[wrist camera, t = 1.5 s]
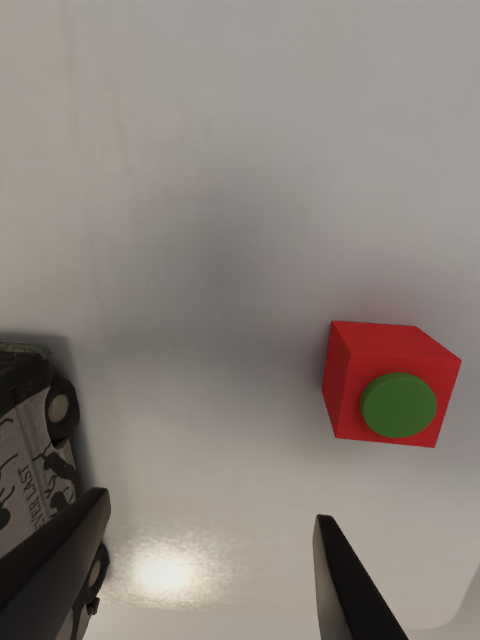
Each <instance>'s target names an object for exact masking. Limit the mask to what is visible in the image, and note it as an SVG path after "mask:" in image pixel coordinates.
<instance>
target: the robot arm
mask: <svg viewBox="0 0 480 640" xmlns="http://www.w3.org/2000/svg"><path fill="white" fill-rule="evenodd" d="M110 514H111V505H110V497H109V491H108V489H107V488H101V487H93V488H91V489H90V490H88V491H87V492H86V493H85V494H83V495H82V496H81V497H79V498H78V499H77V500H75V501H74V502H73V503H72V504H70V505H69V506H68V507H66V508H65V509H64V510H62V511H61V512H60V513H59V514H57V515H56V516H55V517H53V518H52V519H51V520H50V521H48V522H47V523H46V524H44V525H43V526H42V527H40V528H39V529H38V530H37V531H35V532H34V533H33V534H31V535H30V536H29V537H27V538H26V539H25V540H24V541H22V542H21V543H20V544H18V545H17V546H16V547H14V548H13V549H12V550H11V551H9V552H8V553H7V554H5V555H4V556H3V557H2V558H0V640H56V637H57V635H58V633H59V631H60V629H61V627H62V625H63V623H64V621H65V619H66V617H67V615H68V613H69V611H70V609H71V607H72V605H73V603H74V601H75V599H76V597H77V595H78V593H79V591H80V589H81V587H82V585H83V583H84V580H85V578H86V576H87V573H88V571H89V568H90V566H91V563H92V561H93V558H94V556H95V553H96V551H97V548H98V546H99V543H100V541H101V538H102V535H103V533H104V530H105V528H106V525H107V523H108V520H109V518H110ZM313 556H314V570H315V585H316V600H317V612H318V621H319V627H320V634H321V640H409V639H408V638H407V636H406V634H405V633H404V631H403V630H402V628H401V626H400V625H399V623H398V621H397V620H396V618H395V617H394V615H393V613H392V612H391V610H390V608H389V607H388V605H387V604H386V602H385V600H384V599H383V597H382V596H381V594H380V592H379V591H378V589H377V587H376V586H375V584H374V583H373V581H372V579H371V578H370V576H369V575H368V573H367V571H366V570H365V568H364V566H363V565H362V563H361V562H360V560H359V558H358V557H357V555H356V554H355V552H354V550H353V549H352V547H351V545H350V544H349V542H348V541H347V539H346V537H345V536H344V534H343V532H342V531H341V529H340V528H339V526H338V524H337V523H336V521H335V520H334V518H333V517H332V516H330V515H322V514H318V515H317V516H316V520H315V526H314V532H313Z"/></svg>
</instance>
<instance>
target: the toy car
mask: <svg viewBox="0 0 480 640" xmlns="http://www.w3.org/2000/svg"><path fill="white" fill-rule="evenodd" d="M51 354H52V352H51V349H49V348H48V347H47V346H42V345H35V344H21V343H8V342H0V558H2V557H3V556H4V555H5V554H7V553H8V552H9V551H11V550H12V549H13V548H14V547H16V546H17V545H18V544H20V543H21V542H22V541H24V540H25V539H26V538H27V537H29V536H30V535H31V534H33V533H34V532H35V531H37V530H38V529H39V528H40V527H42V526H43V525H44V524H46V523H47V522H48V521H50V520H51V519H52V518H53V517H55V516H56V515H57V514H59V513H60V512H61V511H62V510H64V509H65V508H66V507H68V506H69V505H70V504H72V503H73V502H74V501H75V500H77V499H78V498H79V497H81V493H80V487H79V481H78V476H77V472H76V468H75V464H74V460H73V455H72V451H71V447H70V443H69V439H66V438H62V437H64V436H65V435H66V434H68V433H69V432H70V431H71V430H72V429H73V428H74V427H75V425H76V424H77V422H78V420H79V418H80V414H79V405H78V401H77V398H76V393H75V388H74V387H73V385H72V383H71V382H70V380H66V379H62V378H54V374H53V371H52V368H51V365H50V363H49V360H48V358H47V357H49V356H50V355H51ZM108 565H109V557H108V554H107V551H106V549H105V547H104V546H103V545H101V544H99V546H98V548H97V551H96V553H95V556H94V558H93V561H92V563H91V566H90V568H89V571H88V573H87V576H86V578H85V580H84V583H83V585H82V587H81V589H80V591H79V593H78V595H77V597H76V599H75V601H74V603H73V605H72V607H71V609H70V611H69V613H68V615H67V617H66V619H65V621H64V623H63V625H62V627H61V629H60V631H59V633H58V635H57V637H56V640H82V639H83V637H84V634H85V632H86V629H87V627H88V622H89V619H90V618H91V616H92V615H95V614H96V613H97V608H98V605H99V601H100V599H99V598H97V597H96V596H97V594H98V592H99V590H100V588H101V586H102V583H103V581H104V578H105V575H106V571H107V567H108Z"/></svg>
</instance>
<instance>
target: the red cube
mask: <svg viewBox="0 0 480 640" xmlns="http://www.w3.org/2000/svg"><path fill="white" fill-rule="evenodd" d="M461 361H462V360H461V359H459V358H458V357H457V356H455V355H454V354H453V353H451V352H450V351H449V350H447V349H446V348H445V347H443V346H442V345H440V344H439V343H438V342H436V341H435V340H434V339H432V338H431V337H430V336H428V335H427V334H426V333H424V332H423V331H422V330H420V329H419V328H417V327H416V326H402V325H387V324H373V323H359V322H344V321H332V323H331V330H330V337H329V344H328V350H327V357H326V364H325V370H324V377H323V384H322V394H323V397H324V401H325V404H326V408H327V411H328V414H329V418H330V421H331V425H332V428H333V432H334V435H335V438H342V439H352V440H362V441H372V442H382V443H391V444H401V445H411V446H421V447H431V448H434V447H435V444H436V441H437V438H438V435H439V432H440V429H441V425H442V422H443V419H444V416H445V413H446V409H447V406H448V403H449V400H450V397H451V393H452V390H453V387H454V384H455V381H456V377H457V374H458V371H459V368H460V365H461Z"/></svg>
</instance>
